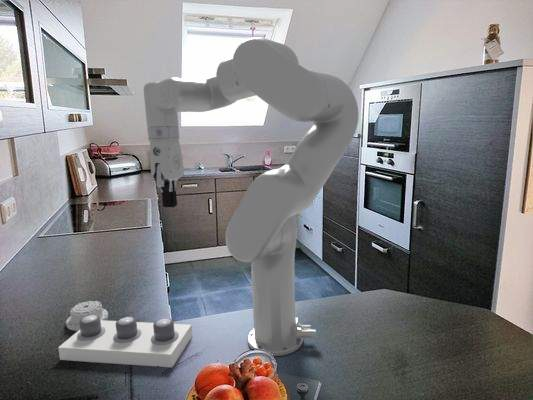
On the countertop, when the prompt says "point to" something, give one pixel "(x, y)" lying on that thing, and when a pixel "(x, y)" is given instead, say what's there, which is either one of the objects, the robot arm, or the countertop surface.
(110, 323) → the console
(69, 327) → the mechanical component
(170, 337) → the knob near
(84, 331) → the knob far
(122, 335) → the knob middle
